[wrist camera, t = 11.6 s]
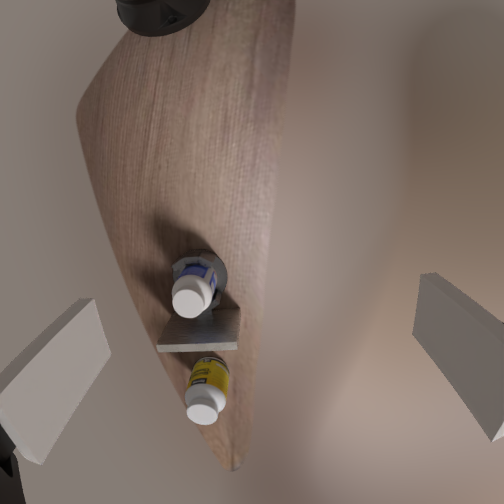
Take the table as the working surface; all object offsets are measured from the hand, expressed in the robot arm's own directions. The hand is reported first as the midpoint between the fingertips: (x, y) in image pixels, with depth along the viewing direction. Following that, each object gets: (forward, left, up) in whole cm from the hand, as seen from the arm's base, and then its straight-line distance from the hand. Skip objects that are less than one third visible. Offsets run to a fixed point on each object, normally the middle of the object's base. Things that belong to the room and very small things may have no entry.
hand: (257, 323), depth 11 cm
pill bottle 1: (+13, -3, -34) cm, 36 cm away
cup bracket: (+14, -3, -34) cm, 37 cm away
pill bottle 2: (+29, +5, -34) cm, 45 cm away
